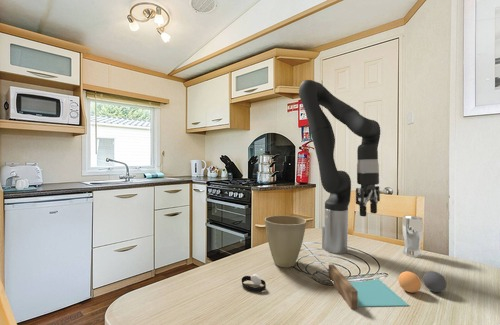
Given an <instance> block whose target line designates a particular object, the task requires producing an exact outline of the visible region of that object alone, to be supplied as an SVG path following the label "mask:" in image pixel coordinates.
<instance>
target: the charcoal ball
mask: <svg viewBox="0 0 500 325" xmlns="http://www.w3.org/2000/svg"><path fill="white" fill-rule="evenodd" d="M422 282H423V284H424V286H425V288H427V289H428V290H429V291H431V292H433V293H441V292H444V291H445V290H446V289H447V280H446V278H445V277H444V276H443V275H442V274H441V273H440V272H437V271H434V270H433V271H432V270H431V271H426V272H425V273H424V274H423V276H422Z"/></svg>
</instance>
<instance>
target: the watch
mask: <svg viewBox="0 0 500 325" xmlns="http://www.w3.org/2000/svg"><path fill="white" fill-rule="evenodd" d="M247 281H249V282H252V283H253V284H254V285H256V286H257V287H256V286H251V285H248V284H245V283H244V282H247ZM241 285H242V287H243V288H244V289H245V290H247V291H250V292H254V293H262V292H264V291H265V290H266V287H267V286H266V285H267V284H266V281H265V280H264V279H262V278H261V277H260V276H259V275H258V274H253V275H251V276H250V275H244V276H242V277H241ZM260 285H262V286H260ZM258 286H259V287H258Z"/></svg>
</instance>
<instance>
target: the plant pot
mask: <svg viewBox="0 0 500 325" xmlns="http://www.w3.org/2000/svg"><path fill="white" fill-rule="evenodd" d="M264 224H265V232H266V233H265V234H266V238H267V244H268V247H269V251H270V254H271V257H272V260H273V262H274V265H275V266H277V267H280V268H292V267H294V266H296V263H297V260H298V258H299V256H300V252H301V248H302V246H303V241H304V237H305V232H306V226H307V219H305V218H303V217H299V216H295V215H294V216H293V215H285V214H284V215H283V214H282V215H280V214H278V215H271V216H270V215H269V216H267V217H265V218H264ZM291 266H292V267H291Z"/></svg>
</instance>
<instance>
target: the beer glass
mask: <svg viewBox="0 0 500 325" xmlns="http://www.w3.org/2000/svg"><path fill="white" fill-rule="evenodd" d="M423 219H424V218H423V217H420V216H414V215H403V218H402V227H401V228H402V234H403V241H404V244H403V245H404V247H403V251H402V253H403V255H405V256H407V257H411V258H421V257H422V252H421V245H422V244H421V243H422V239H423V234H424V220H423Z"/></svg>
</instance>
